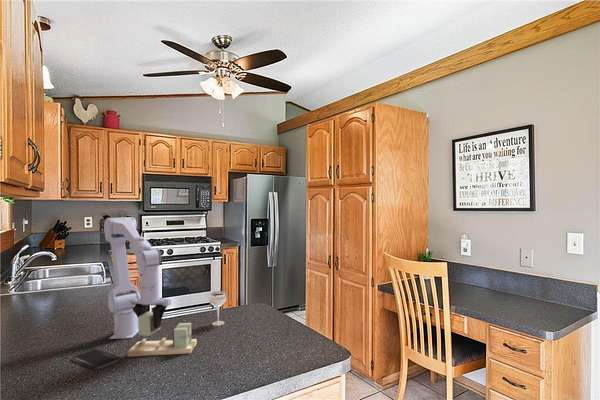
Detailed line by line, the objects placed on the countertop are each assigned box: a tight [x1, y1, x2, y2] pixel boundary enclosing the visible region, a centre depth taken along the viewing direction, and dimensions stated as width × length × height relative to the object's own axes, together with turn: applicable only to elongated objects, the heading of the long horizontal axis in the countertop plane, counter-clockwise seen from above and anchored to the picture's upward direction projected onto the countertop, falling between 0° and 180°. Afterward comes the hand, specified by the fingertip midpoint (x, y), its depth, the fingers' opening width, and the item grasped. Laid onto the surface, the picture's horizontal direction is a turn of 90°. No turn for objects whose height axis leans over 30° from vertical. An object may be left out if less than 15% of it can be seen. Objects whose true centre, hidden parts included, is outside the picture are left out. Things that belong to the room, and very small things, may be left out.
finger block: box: [138, 310, 162, 337], centre depth 115 cm, size 5×6×6 cm
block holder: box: [127, 322, 198, 357], centre depth 116 cm, size 8×20×8 cm, turn 93°
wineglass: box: [208, 290, 227, 326], centre depth 139 cm, size 7×7×12 cm
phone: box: [71, 348, 121, 371], centre depth 109 cm, size 8×1×15 cm
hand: (150, 326), depth 115 cm, fingers closed on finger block, 5 cm apart
